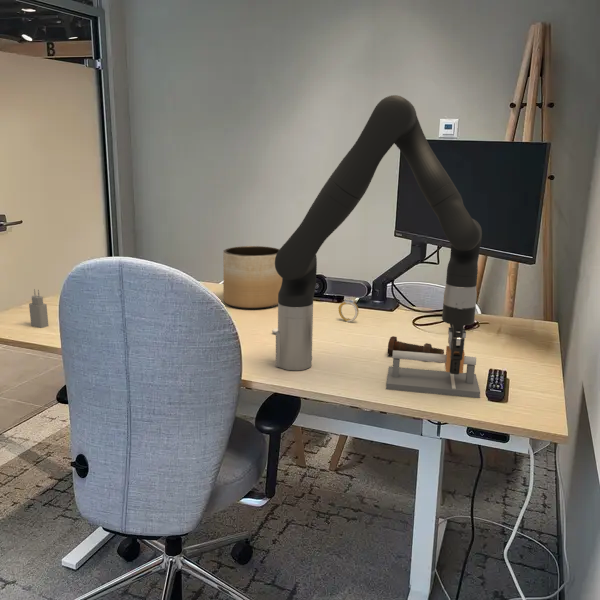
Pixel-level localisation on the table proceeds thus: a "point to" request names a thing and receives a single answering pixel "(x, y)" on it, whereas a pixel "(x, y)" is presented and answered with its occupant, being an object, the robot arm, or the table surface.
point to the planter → (251, 277)
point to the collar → (447, 364)
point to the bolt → (411, 347)
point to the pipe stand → (432, 376)
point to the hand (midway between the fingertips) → (453, 369)
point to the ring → (350, 301)
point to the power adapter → (38, 312)
